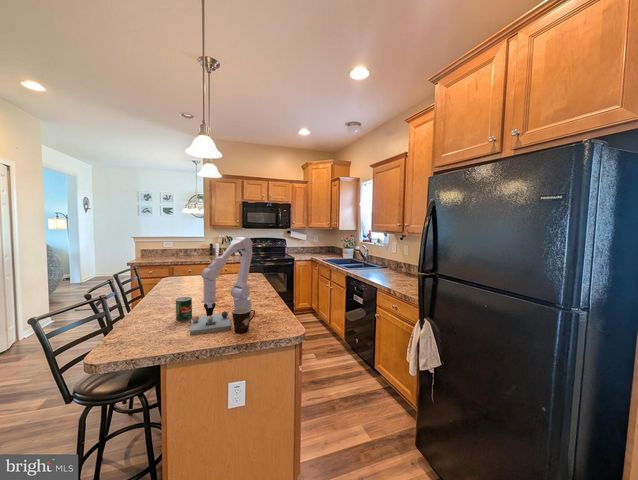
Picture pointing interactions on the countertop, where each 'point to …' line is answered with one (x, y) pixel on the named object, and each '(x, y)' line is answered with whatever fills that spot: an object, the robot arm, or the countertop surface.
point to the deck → (210, 324)
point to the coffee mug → (241, 320)
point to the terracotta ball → (195, 318)
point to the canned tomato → (183, 309)
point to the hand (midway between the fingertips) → (209, 317)
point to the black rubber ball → (224, 314)
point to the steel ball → (210, 317)
